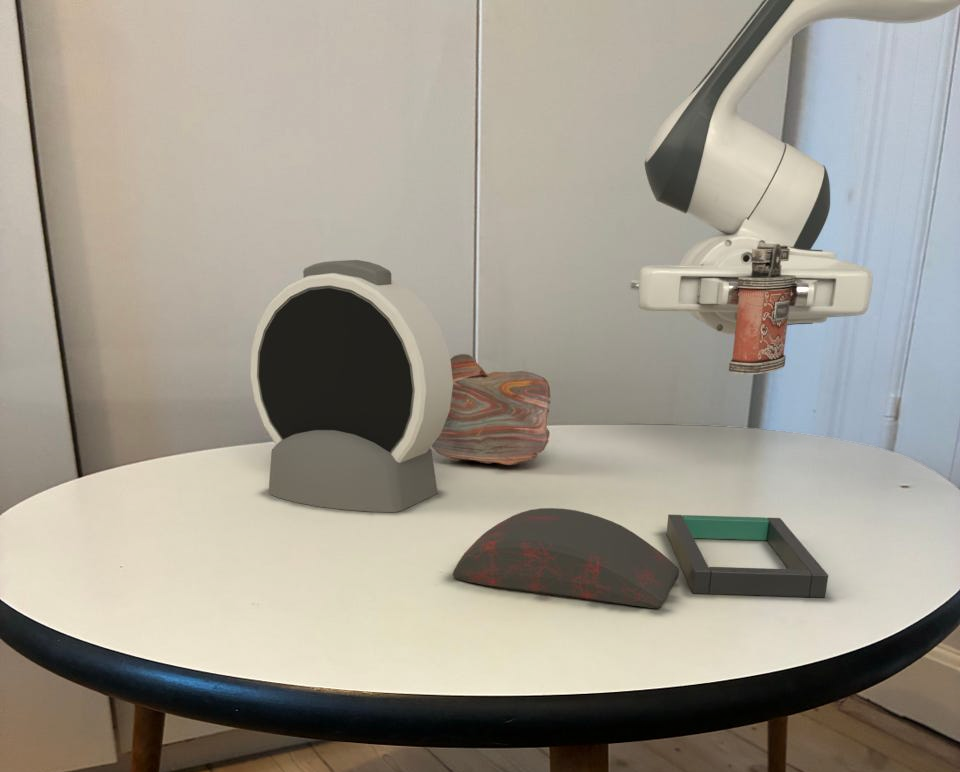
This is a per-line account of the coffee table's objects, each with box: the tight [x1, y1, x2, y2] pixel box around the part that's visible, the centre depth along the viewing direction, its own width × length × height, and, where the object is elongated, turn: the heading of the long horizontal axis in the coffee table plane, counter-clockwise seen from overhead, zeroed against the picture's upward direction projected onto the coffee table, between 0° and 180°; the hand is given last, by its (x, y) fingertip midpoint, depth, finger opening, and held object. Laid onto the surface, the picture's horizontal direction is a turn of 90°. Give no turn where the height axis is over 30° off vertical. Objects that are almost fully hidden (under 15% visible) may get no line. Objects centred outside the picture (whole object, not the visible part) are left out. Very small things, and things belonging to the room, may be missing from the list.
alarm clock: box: [249, 259, 453, 513], centre depth 82 cm, size 16×10×18 cm, turn 65°
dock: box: [666, 514, 829, 598], centre depth 69 cm, size 8×13×2 cm, turn 177°
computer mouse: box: [452, 507, 680, 610], centre depth 65 cm, size 8×14×4 cm, turn 71°
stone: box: [431, 353, 551, 466], centre depth 96 cm, size 13×8×10 cm
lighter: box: [728, 244, 796, 375], centre depth 86 cm, size 8×3×10 cm, turn 145°
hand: (768, 294), depth 85 cm, fingers closed on lighter, 5 cm apart
